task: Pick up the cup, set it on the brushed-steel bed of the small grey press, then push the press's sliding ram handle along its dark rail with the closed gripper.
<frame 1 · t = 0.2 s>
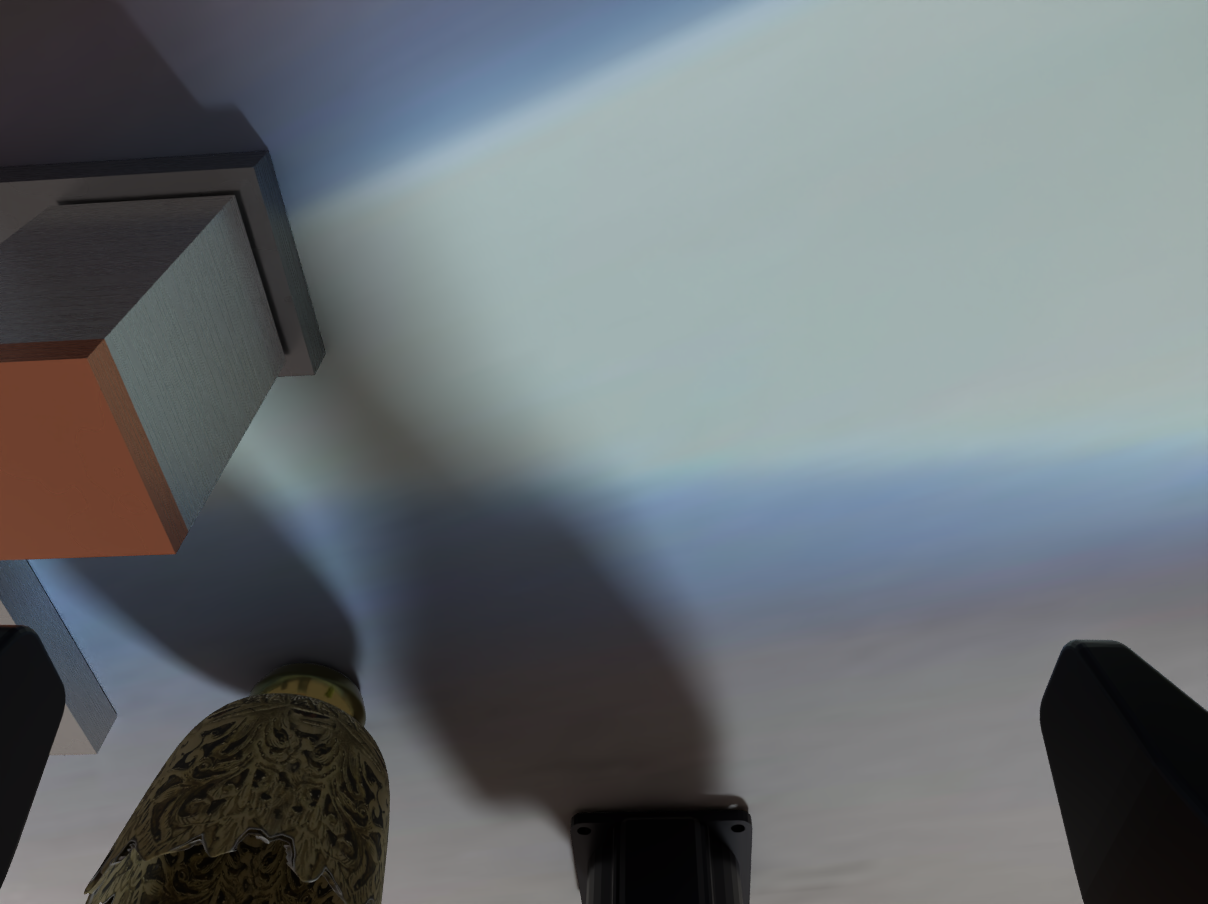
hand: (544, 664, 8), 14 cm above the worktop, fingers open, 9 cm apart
press rail: (47, 272, 22), on the worktop
ram: (106, 364, 18), point 4 cm above the worktop, slide at 0.0 cm
cup: (315, 686, 31), on the worktop
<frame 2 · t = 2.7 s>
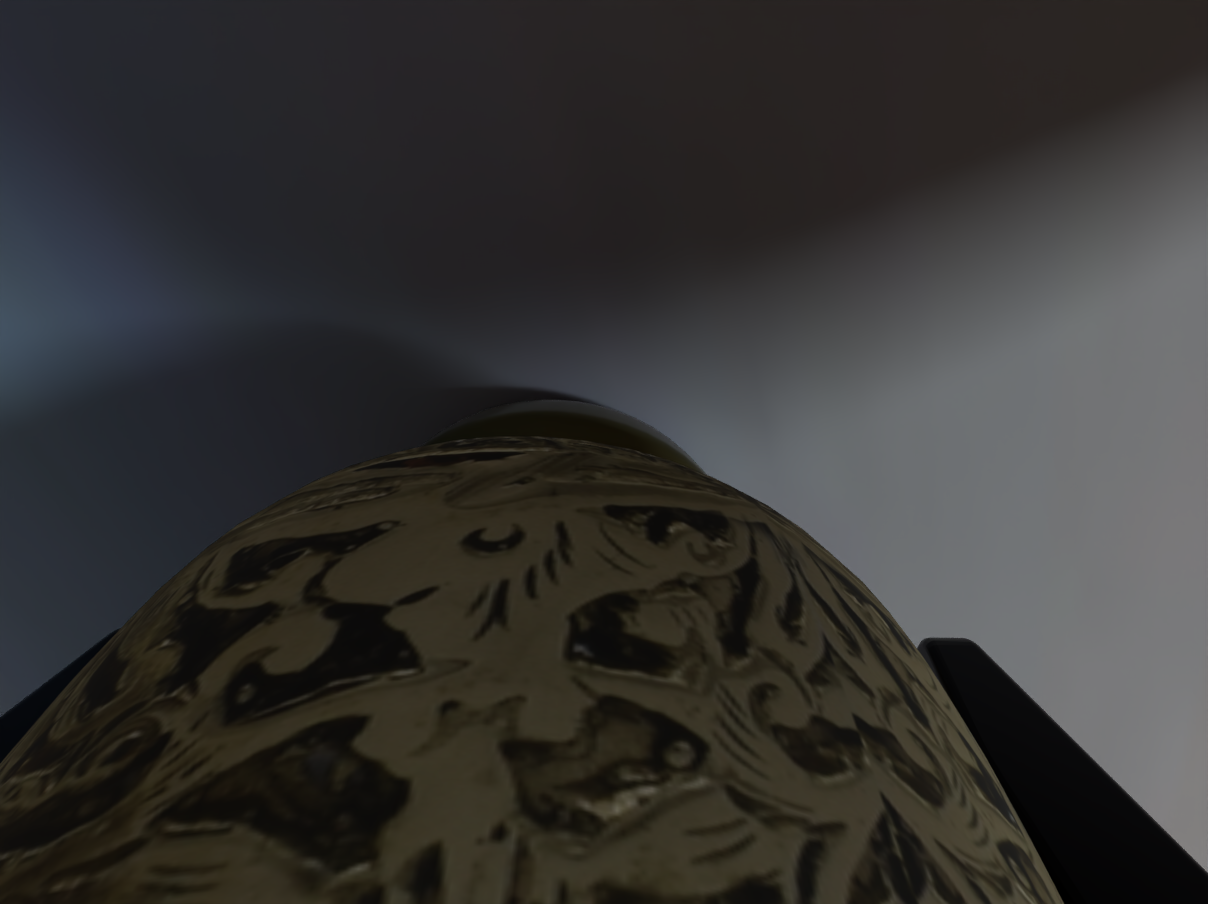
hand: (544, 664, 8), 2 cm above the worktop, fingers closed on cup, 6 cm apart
cup: (560, 505, 10), on the worktop, touching gripper
when the fingers open (4 cm above the worktop, at t = 6.4 s): cup stays where it is, resting on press.
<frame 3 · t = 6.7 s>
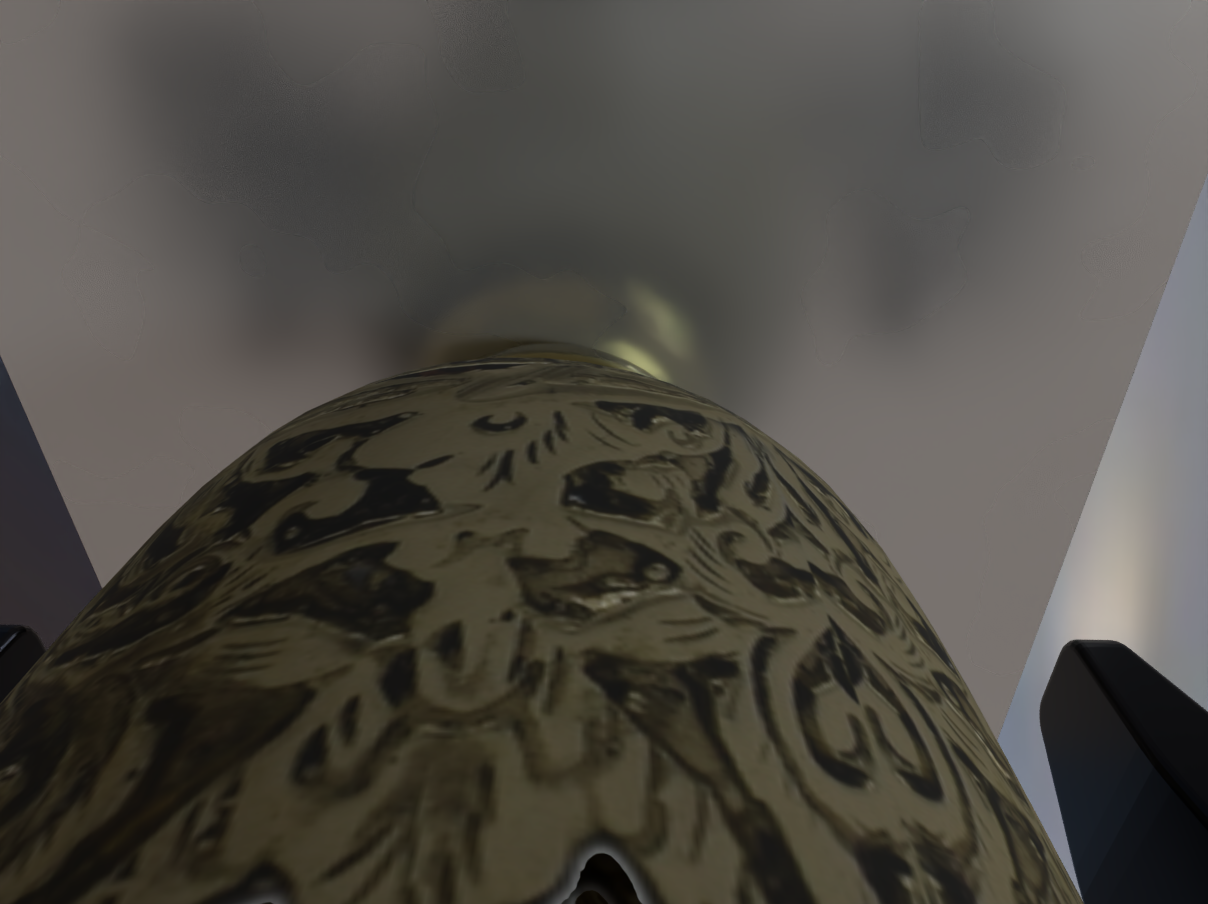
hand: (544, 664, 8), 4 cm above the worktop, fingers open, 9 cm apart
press: (571, 394, 12), on the worktop
cup: (558, 449, 11), point 1 cm above the worktop, touching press
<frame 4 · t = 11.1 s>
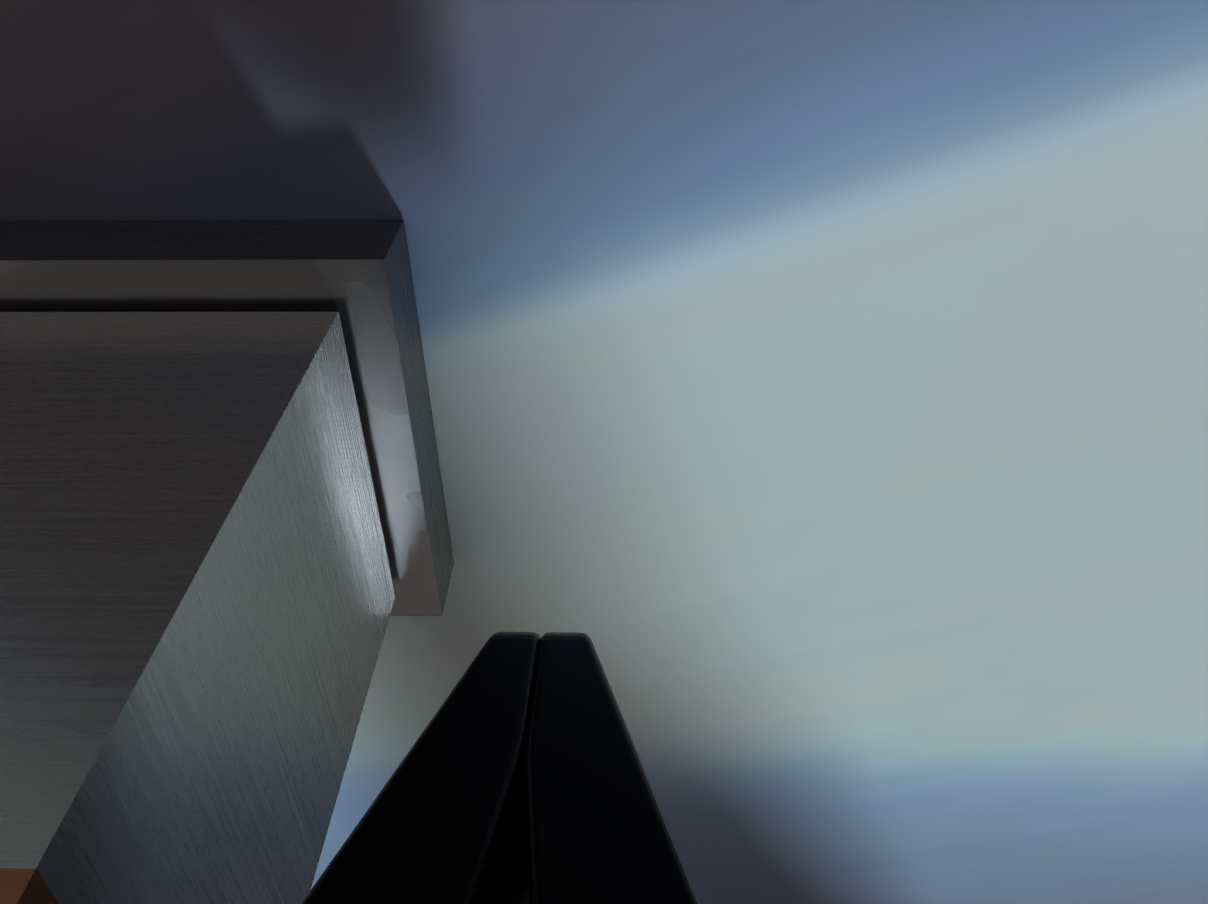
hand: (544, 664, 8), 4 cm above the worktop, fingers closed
ram: (53, 698, 8), point 4 cm above the worktop, slide at 0.0 cm, touching gripper
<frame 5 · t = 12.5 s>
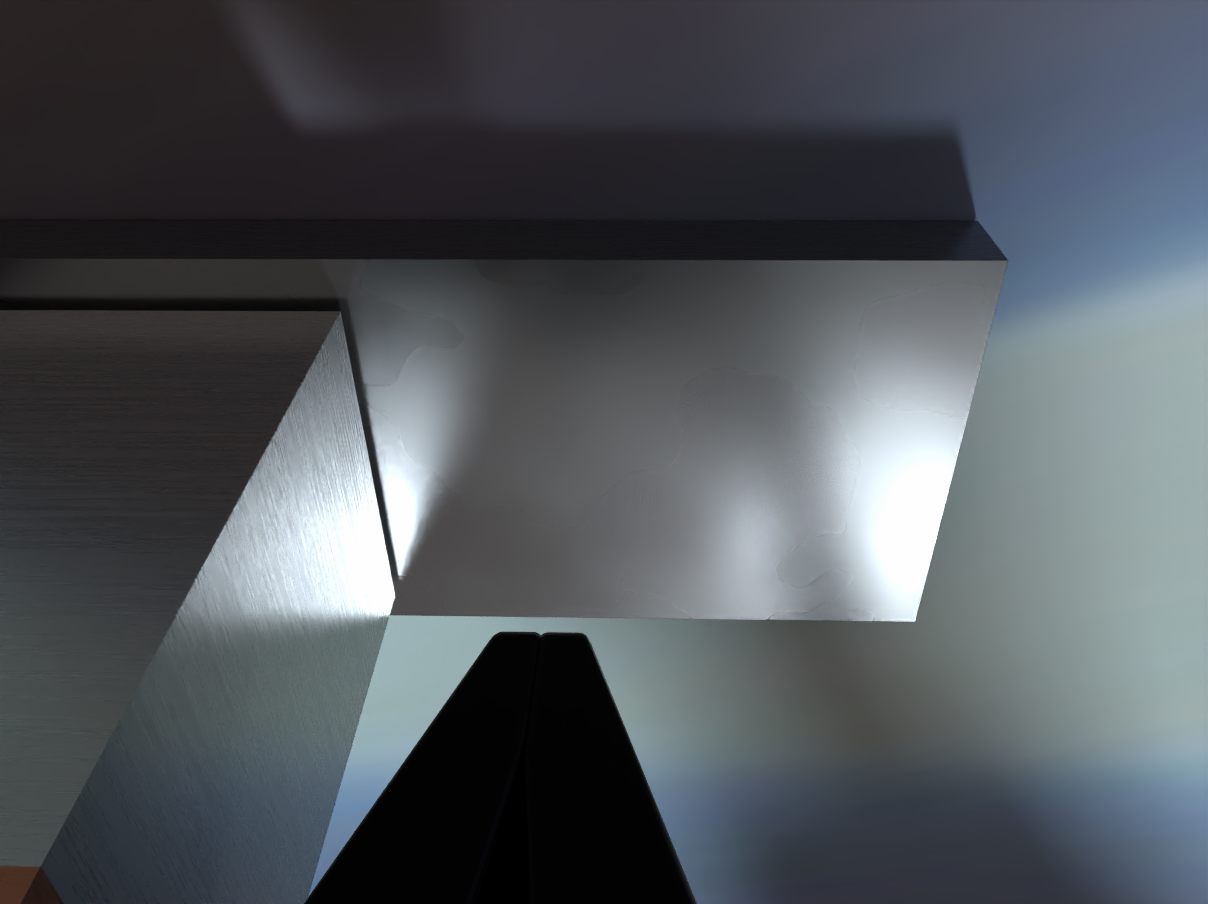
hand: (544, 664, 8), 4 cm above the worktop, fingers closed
press rail: (442, 413, 12), on the worktop
ram: (54, 696, 8), point 4 cm above the worktop, slide at 6.1 cm, touching gripper
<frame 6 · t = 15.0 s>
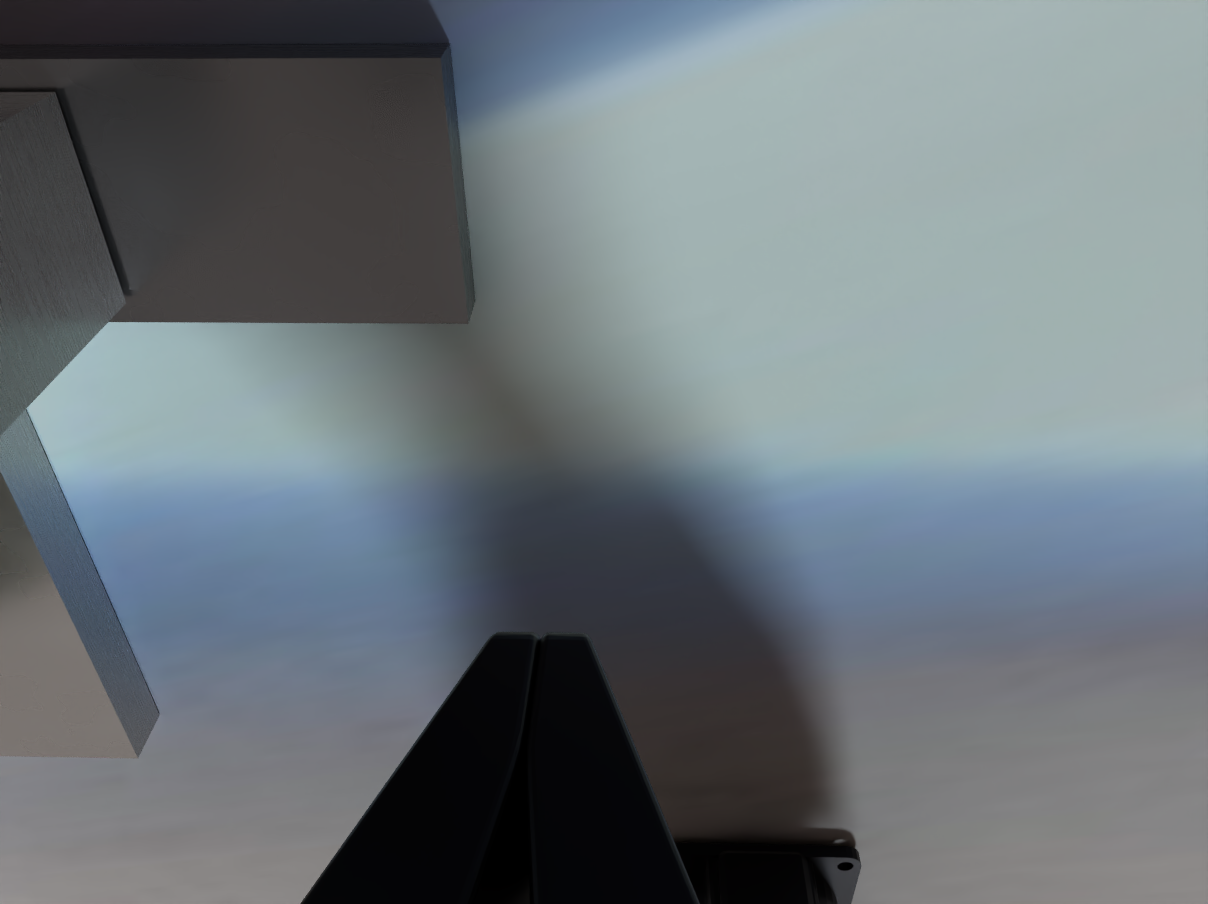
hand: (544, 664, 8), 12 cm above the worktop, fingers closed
press rail: (154, 182, 18), on the worktop
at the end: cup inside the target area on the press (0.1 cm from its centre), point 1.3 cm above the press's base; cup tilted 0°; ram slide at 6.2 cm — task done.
